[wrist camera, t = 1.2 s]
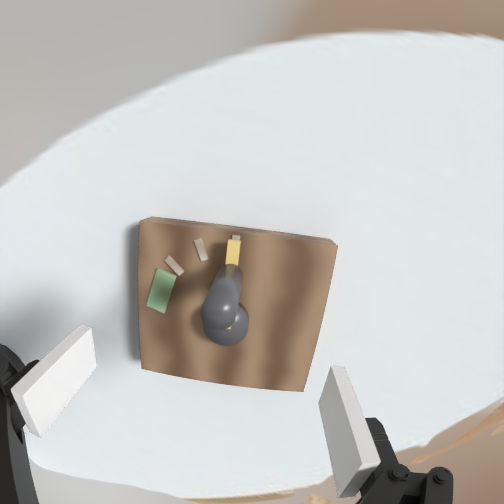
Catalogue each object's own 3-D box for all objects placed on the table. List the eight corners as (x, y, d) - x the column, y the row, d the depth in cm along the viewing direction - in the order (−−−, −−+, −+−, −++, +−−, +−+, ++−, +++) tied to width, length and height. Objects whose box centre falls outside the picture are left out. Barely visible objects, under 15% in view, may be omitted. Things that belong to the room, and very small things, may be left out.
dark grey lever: (204, 334, 34) (182, 394, 23) (212, 234, 31) (186, 263, 20) (246, 339, 34) (240, 403, 23) (259, 240, 31) (258, 273, 20)
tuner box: (150, 353, 40) (140, 369, 36) (152, 216, 35) (138, 221, 31) (300, 374, 40) (303, 393, 36) (329, 238, 35) (338, 246, 31)
